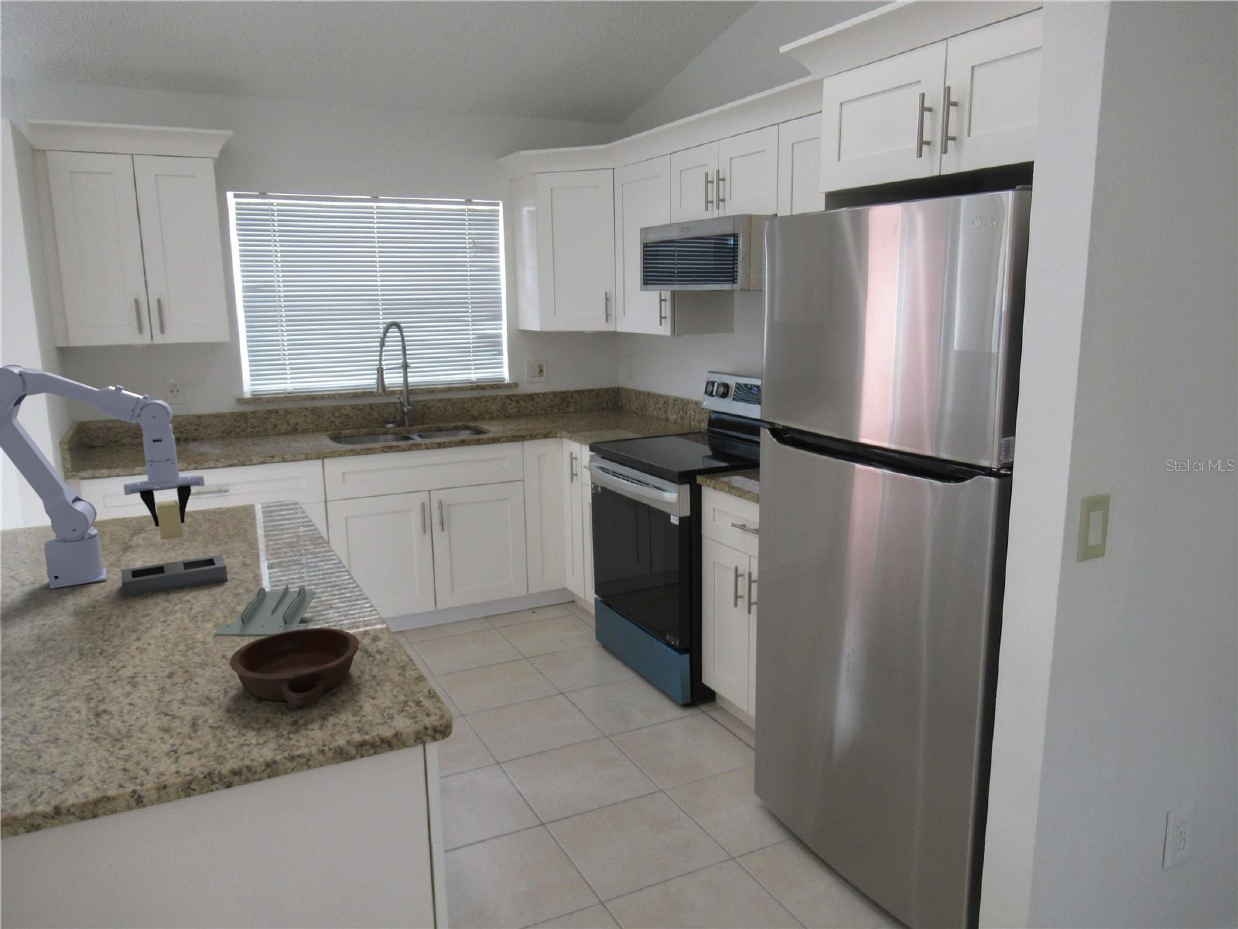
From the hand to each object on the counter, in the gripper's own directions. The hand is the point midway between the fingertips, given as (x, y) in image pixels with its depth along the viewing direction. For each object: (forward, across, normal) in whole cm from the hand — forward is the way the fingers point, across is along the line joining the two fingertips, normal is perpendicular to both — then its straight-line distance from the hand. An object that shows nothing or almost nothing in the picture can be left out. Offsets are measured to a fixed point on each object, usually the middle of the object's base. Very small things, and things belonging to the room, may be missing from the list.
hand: (169, 524), depth 178 cm
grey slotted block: (+9, -1, -11) cm, 14 cm away
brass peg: (+3, 0, 0) cm, 3 cm away
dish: (+10, +12, -71) cm, 73 cm away
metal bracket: (+10, +13, -44) cm, 47 cm away
